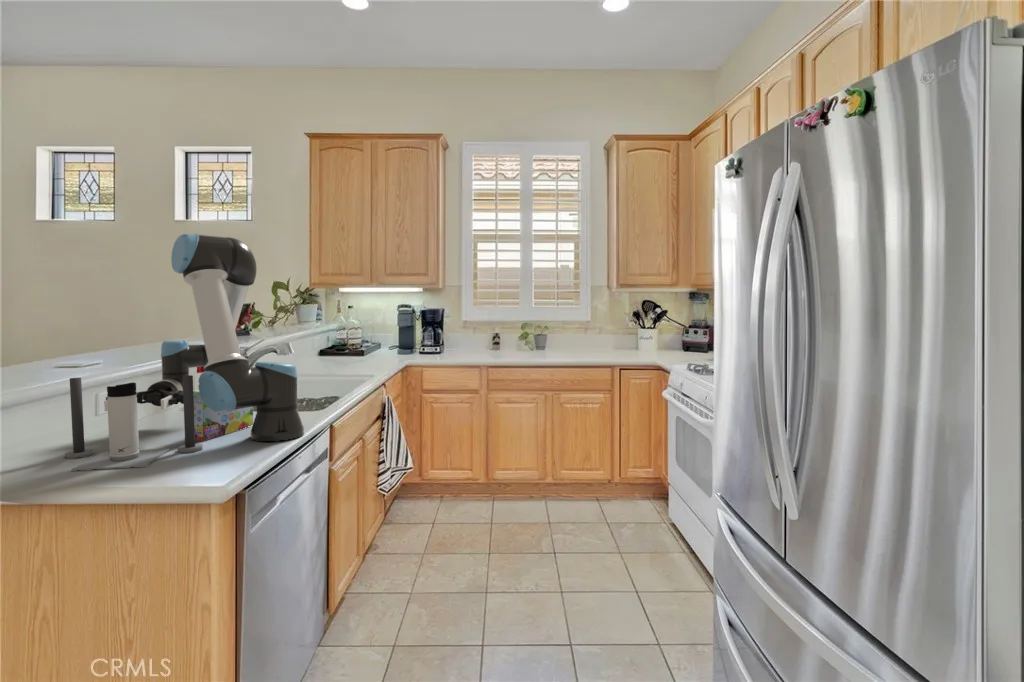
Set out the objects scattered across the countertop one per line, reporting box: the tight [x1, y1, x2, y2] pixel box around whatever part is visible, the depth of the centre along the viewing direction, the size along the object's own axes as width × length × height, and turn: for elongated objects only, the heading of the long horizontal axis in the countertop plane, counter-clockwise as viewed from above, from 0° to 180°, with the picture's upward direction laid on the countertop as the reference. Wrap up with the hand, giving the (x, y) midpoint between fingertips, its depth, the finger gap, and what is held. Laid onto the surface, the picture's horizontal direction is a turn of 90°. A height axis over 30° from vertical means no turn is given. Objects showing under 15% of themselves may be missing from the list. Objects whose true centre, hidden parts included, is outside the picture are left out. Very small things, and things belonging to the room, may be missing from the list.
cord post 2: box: [177, 374, 204, 454], centre depth 150 cm, size 6×6×21 cm
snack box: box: [193, 389, 254, 442], centre depth 170 cm, size 21×6×15 cm, turn 167°
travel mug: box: [106, 382, 140, 461], centre depth 140 cm, size 6×7×20 cm
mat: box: [70, 448, 170, 472], centre depth 141 cm, size 16×16×1 cm
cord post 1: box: [64, 377, 94, 459], centre depth 144 cm, size 6×6×21 cm
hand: (134, 405), depth 148 cm, fingers open, 13 cm apart
